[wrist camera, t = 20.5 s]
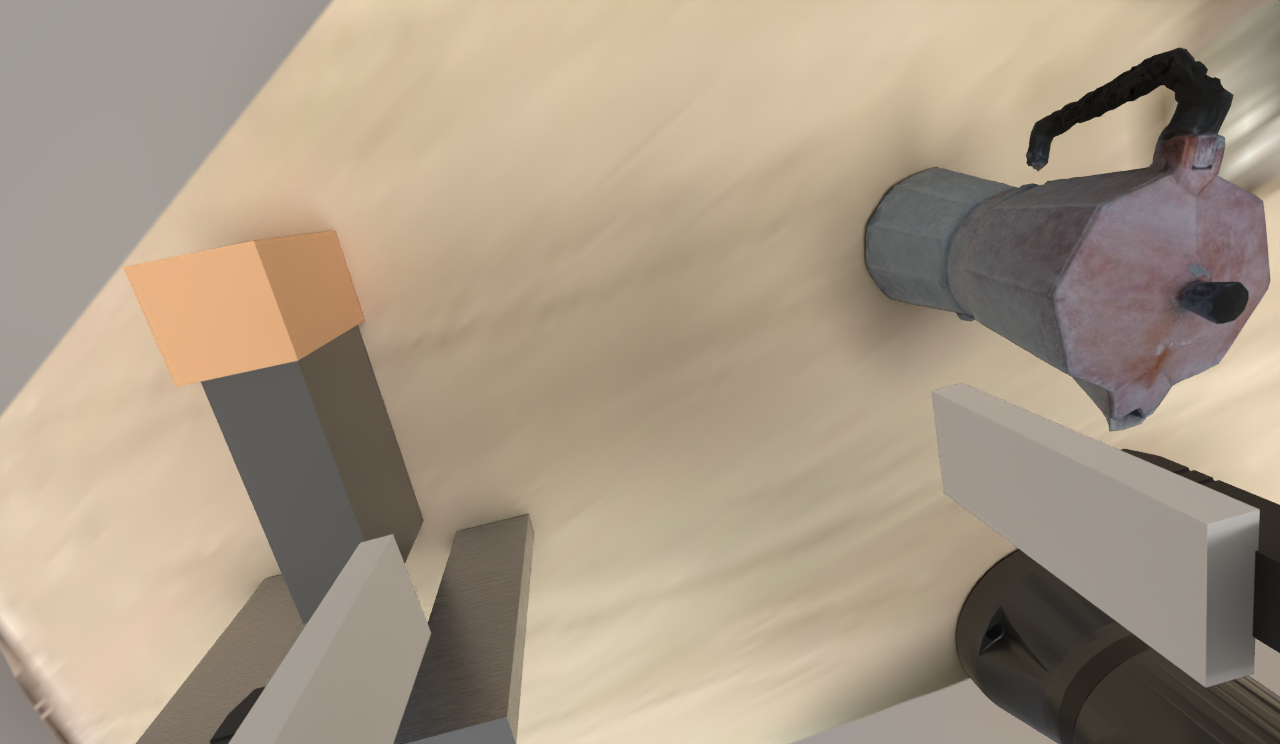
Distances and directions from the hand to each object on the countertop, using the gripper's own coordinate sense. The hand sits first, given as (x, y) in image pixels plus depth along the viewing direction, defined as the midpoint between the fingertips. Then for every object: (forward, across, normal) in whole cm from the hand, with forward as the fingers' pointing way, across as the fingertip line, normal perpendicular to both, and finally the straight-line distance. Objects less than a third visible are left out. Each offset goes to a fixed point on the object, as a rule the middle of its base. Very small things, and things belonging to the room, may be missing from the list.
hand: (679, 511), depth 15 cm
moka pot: (+26, -21, -1) cm, 34 cm away
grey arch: (+26, +18, +12) cm, 34 cm away
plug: (+26, +18, 0) cm, 31 cm away
